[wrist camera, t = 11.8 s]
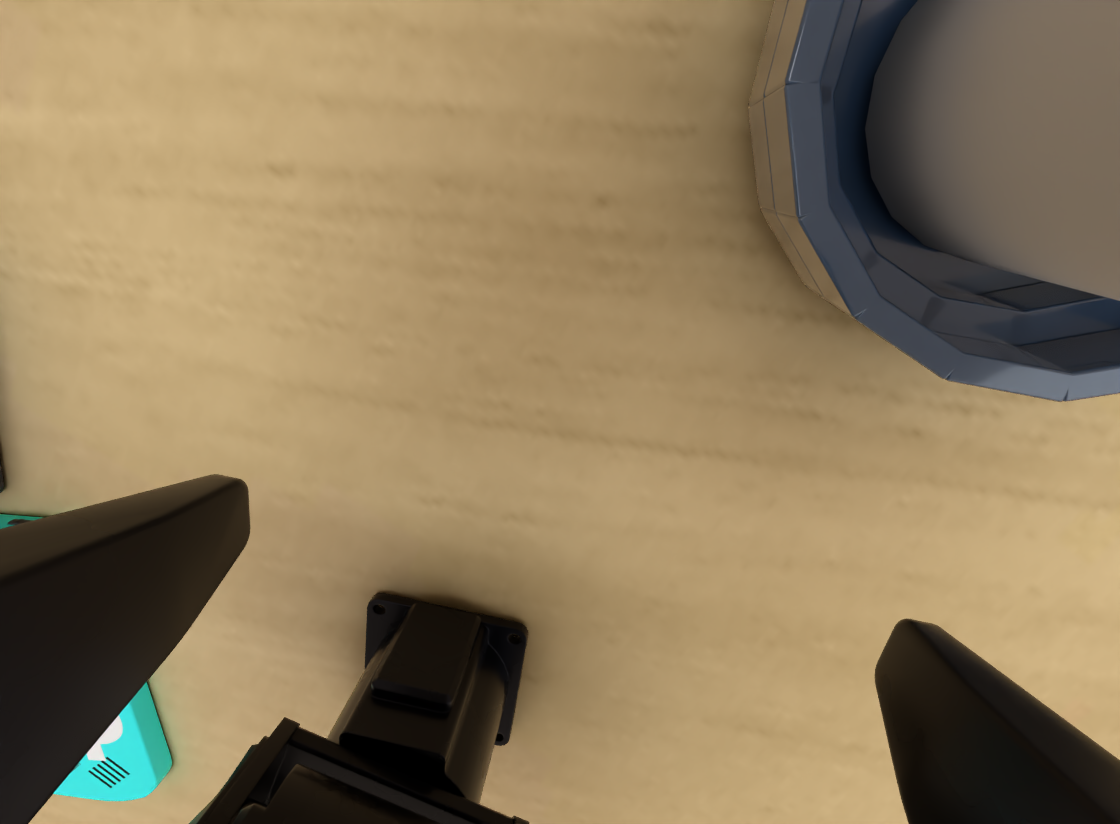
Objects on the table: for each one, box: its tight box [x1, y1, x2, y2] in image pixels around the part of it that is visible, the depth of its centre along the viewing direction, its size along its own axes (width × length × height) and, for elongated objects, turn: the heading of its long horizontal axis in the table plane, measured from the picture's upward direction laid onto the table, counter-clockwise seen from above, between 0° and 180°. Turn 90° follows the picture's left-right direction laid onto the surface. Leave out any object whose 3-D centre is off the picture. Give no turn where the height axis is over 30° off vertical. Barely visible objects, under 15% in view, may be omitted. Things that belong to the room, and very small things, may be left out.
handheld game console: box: [0, 514, 172, 801], centre depth 27 cm, size 10×16×1 cm, turn 0°
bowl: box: [748, 0, 1120, 402], centre depth 13 cm, size 13×13×5 cm
